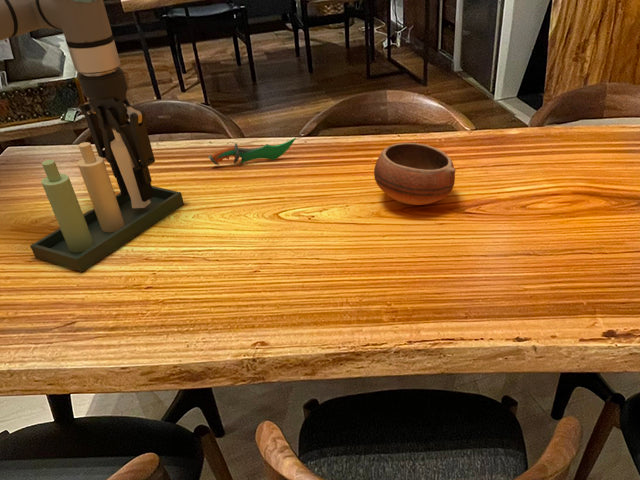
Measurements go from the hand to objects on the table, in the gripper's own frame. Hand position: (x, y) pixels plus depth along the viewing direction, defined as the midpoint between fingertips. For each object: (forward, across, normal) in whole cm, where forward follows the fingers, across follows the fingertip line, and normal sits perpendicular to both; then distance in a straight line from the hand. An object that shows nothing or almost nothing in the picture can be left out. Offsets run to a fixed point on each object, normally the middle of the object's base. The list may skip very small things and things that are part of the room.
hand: (138, 195), depth 122 cm
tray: (+3, 0, +8) cm, 9 cm away
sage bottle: (+3, 0, +16) cm, 16 cm away
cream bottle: (+3, 0, +8) cm, 8 cm away
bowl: (+4, -48, -26) cm, 55 cm away
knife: (+3, -8, -28) cm, 30 cm away
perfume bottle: (+2, 0, 0) cm, 2 cm away
